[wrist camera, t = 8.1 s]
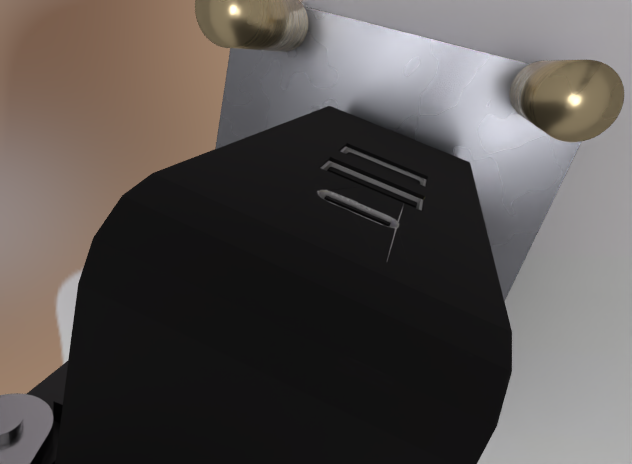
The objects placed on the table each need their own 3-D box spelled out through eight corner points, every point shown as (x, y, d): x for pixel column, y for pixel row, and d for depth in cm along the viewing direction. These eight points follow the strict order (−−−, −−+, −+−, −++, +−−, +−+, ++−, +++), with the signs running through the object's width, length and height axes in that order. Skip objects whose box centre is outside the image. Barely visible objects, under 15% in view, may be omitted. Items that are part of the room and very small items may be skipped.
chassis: (252, -13, 15) (167, -46, 10) (600, 75, 13) (684, 82, 9) (194, 355, 21) (125, 436, 16) (426, 446, 19) (420, 564, 15)
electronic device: (471, 156, 13) (540, 403, 4) (345, 405, 17) (228, 813, 8) (333, 101, 13) (80, 193, 4) (244, 356, 17) (20, 686, 8)
